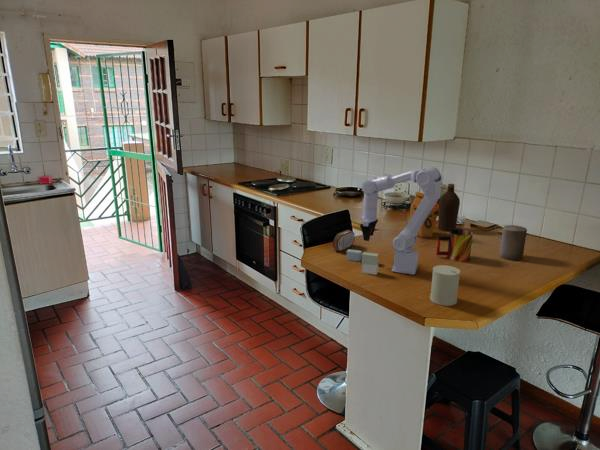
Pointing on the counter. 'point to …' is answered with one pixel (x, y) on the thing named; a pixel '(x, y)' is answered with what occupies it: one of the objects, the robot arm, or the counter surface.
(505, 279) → the counter surface
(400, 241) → the robot arm
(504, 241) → the pillar candle
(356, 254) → the blue brick
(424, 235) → the coffee package
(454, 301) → the can
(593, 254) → the counter surface
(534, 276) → the counter surface
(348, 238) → the tin
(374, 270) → the grey brick
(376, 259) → the sage brick
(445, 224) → the olive oil
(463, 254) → the mug
